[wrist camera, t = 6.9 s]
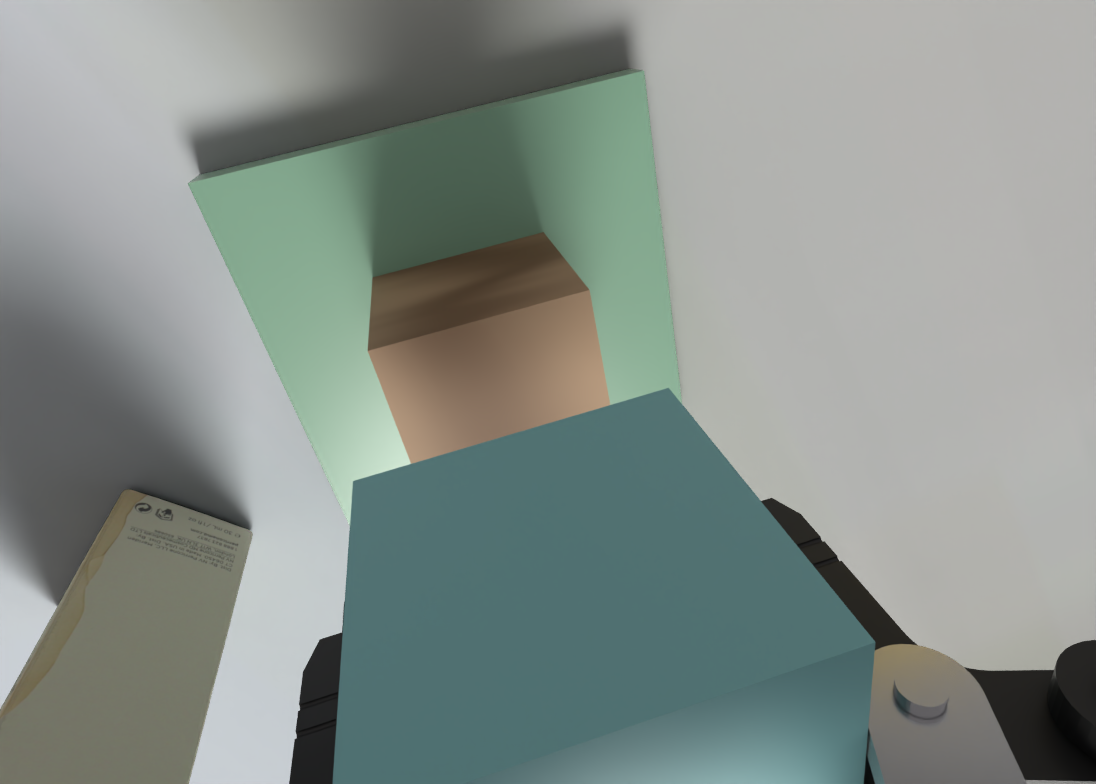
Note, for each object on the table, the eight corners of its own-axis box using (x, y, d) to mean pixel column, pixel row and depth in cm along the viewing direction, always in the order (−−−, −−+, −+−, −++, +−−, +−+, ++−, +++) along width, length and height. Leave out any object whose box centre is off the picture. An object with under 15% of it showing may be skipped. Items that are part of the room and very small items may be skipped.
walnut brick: (543, 231, 19) (589, 289, 14) (574, 380, 21) (621, 467, 17) (372, 277, 18) (367, 350, 14) (424, 423, 21) (434, 523, 17)
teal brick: (668, 388, 10) (875, 642, 6) (695, 605, 13) (853, 893, 8) (352, 481, 10) (328, 828, 5) (446, 686, 12) (479, 1036, 8)
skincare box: (126, 481, 21) (-133, 922, 11) (262, 530, 23) (156, 943, 12) (53, 614, 23) (-231, 1105, 12) (185, 649, 25) (35, 1100, 14)
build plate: (629, 68, 18) (644, 70, 17) (673, 420, 24) (685, 437, 23) (199, 174, 17) (188, 183, 16) (356, 513, 23) (354, 536, 22)
